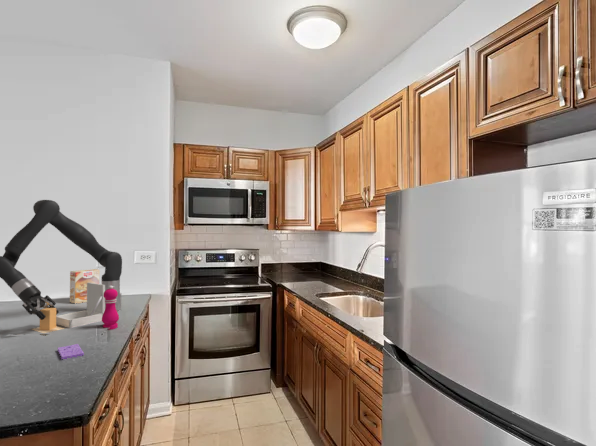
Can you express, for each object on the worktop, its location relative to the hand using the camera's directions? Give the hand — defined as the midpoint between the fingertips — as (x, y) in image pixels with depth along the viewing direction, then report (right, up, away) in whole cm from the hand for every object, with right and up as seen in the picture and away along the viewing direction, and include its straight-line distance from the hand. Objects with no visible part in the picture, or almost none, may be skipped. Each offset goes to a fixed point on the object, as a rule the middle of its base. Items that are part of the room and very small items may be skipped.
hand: (50, 316), depth 167 cm
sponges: (+26, -8, -28) cm, 39 cm away
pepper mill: (+24, -7, +6) cm, 26 cm away
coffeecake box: (-22, -7, +64) cm, 67 cm away
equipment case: (+6, -7, +12) cm, 15 cm away
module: (-1, -6, 0) cm, 6 cm away
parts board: (-1, -7, 0) cm, 7 cm away
